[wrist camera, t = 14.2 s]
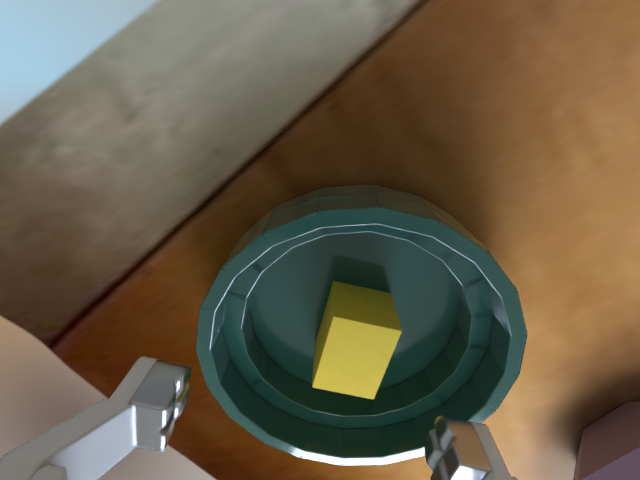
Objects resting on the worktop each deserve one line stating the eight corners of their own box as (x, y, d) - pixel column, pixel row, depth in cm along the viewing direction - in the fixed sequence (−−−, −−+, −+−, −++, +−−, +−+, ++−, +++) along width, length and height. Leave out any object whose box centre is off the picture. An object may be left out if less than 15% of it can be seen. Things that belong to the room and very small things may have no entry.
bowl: (241, 150, 18) (213, 167, 13) (537, 220, 19) (594, 257, 14) (211, 378, 24) (186, 437, 20) (430, 422, 25) (449, 486, 21)
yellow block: (333, 280, 20) (333, 316, 17) (391, 293, 20) (402, 330, 17) (314, 344, 22) (311, 387, 19) (368, 355, 22) (373, 400, 19)
